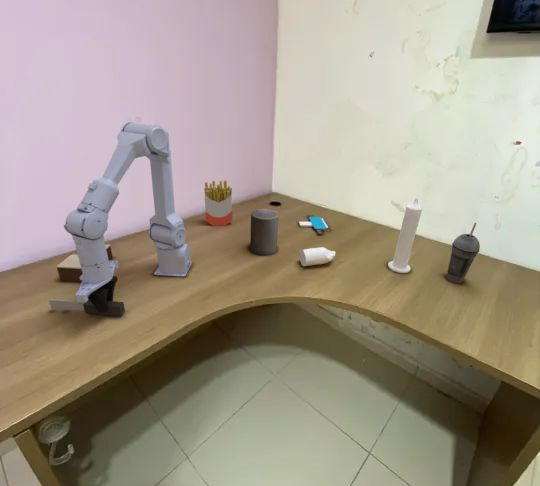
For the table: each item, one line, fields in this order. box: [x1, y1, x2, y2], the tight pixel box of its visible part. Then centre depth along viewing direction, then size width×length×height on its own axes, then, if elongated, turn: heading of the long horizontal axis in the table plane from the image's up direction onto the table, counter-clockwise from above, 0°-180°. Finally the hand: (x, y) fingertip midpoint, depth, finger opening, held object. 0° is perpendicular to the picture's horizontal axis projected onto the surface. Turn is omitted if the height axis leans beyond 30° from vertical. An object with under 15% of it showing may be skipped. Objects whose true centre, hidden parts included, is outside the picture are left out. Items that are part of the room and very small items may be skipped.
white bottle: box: [298, 246, 336, 267], centre depth 103 cm, size 6×12×6 cm, turn 105°
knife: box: [48, 298, 126, 317], centre depth 77 cm, size 18×2×3 cm, turn 88°
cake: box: [55, 253, 83, 283], centre depth 91 cm, size 8×7×5 cm
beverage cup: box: [446, 222, 481, 284], centre depth 95 cm, size 7×7×20 cm
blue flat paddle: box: [298, 214, 331, 236], centre depth 133 cm, size 20×12×2 cm, turn 5°
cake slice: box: [105, 243, 114, 261], centre depth 99 cm, size 8×3×5 cm, turn 88°
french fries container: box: [204, 180, 233, 227], centre depth 127 cm, size 5×11×18 cm, turn 101°
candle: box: [387, 196, 423, 274], centre depth 98 cm, size 7×7×25 cm
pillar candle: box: [249, 208, 280, 256], centre depth 109 cm, size 10×10×15 cm
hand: (105, 307), depth 76 cm, fingers closed on knife, 2 cm apart
